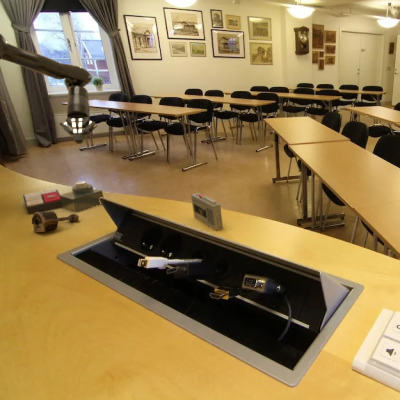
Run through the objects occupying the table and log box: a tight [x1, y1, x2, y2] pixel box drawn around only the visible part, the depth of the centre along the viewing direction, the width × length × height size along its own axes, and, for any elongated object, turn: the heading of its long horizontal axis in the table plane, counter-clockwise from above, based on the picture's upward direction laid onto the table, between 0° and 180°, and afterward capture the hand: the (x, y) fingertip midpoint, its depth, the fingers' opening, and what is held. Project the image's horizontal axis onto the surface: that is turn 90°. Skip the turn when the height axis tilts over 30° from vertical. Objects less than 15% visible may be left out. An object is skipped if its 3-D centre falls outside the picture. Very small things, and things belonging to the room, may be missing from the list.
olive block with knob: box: [59, 183, 105, 214], centre depth 127 cm, size 11×9×8 cm
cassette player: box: [190, 192, 224, 232], centre depth 113 cm, size 16×3×10 cm, turn 47°
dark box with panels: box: [22, 188, 63, 215], centre depth 127 cm, size 11×4×15 cm
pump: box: [75, 180, 88, 188], centre depth 127 cm, size 4×4×2 cm
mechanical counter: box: [31, 210, 80, 233], centre depth 109 cm, size 7×13×10 cm
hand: (78, 142), depth 130 cm, fingers closed
